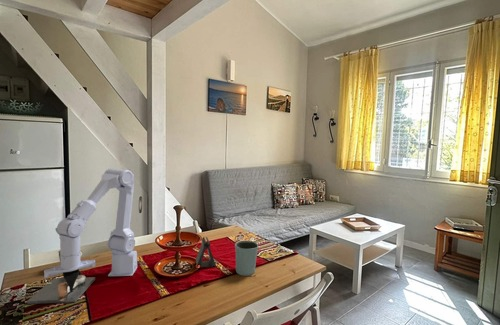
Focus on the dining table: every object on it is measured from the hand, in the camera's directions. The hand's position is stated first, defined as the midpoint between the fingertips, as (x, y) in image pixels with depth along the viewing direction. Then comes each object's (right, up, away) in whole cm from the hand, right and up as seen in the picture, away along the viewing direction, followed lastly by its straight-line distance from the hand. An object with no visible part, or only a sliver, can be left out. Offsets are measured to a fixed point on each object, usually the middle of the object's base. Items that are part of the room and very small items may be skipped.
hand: (71, 291), depth 92 cm
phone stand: (+42, -3, +30) cm, 51 cm away
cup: (-16, -1, +22) cm, 27 cm away
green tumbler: (+61, -4, +25) cm, 66 cm away
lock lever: (-3, -1, +4) cm, 5 cm away
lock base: (-6, -2, +4) cm, 8 cm away
